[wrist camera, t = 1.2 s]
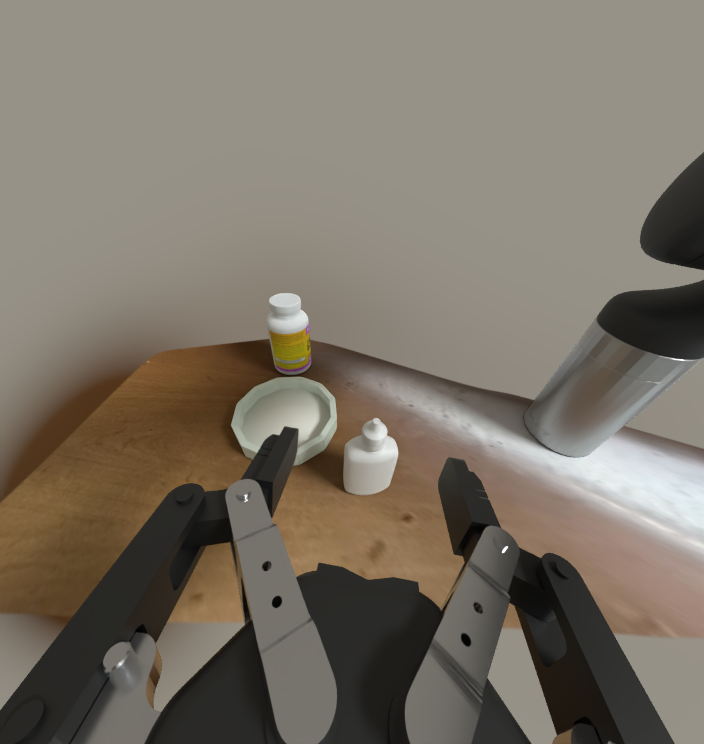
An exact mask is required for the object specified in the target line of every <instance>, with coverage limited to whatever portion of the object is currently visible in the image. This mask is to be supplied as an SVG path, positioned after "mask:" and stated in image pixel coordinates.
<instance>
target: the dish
mask: <svg viewBox="0 0 704 744" xmlns="http://www.w3.org/2000/svg"><path fill="white" fill-rule="evenodd" d="M284 426H287V427H292V428H298V429H299V434H298V447H297V454H296V459H295V462H294V464H293V465H300V464H302V463H304V462H305V461H307V460H309V459H310V458H312V457H314V456H315V455H317V454H319V453H320V452H322V451H324V450H325V448H326V447H327V445H328V443H329V441H330V440H331V438H332V436H333V435H334V433H335V431H336V429H337V415H336V405H335V398H334V397H333V396H332V394H331V393H330V392H329V391H328V390H327V389H326V388H325V387H324V386H323V385H322V384H321V383H318V382H315V381H312V380H309V379H306V378H304V377H281V378H275V379H273V380H270V381H268V382H265V383H263V384H260V385H258V386H255V387H254V388H253V389H251V390H250V391H249V392H248V393H247V394H246V395H245V396H244V397H243V398H242V399H241V400H240V401H239V402H238V403H237V405H236V408H235V412H234V416H233V419H232V423H231V427H232V429H233V431H234V434H235V436H236V438H237V440H238V442H239V444H240V446H241V448H242V450H243V452H244V454H245V456H246V457H248V458H250V459H252V460H253V459H254V457H255V455H256V454H257V452H258V450H259V449H260V447H261V445H262V444H263V442H264V440H265V439H266V438H268V437H269V436H270V435H272V434H275V435H280V433H281V431H282V430H283V428H284Z"/></svg>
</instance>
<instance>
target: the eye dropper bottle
mask: <svg viewBox="0 0 704 744" xmlns="http://www.w3.org/2000/svg"><path fill="white" fill-rule="evenodd" d="M397 458H398V448H397V445H396V442H395V440H394V439H393V438H391V437H389V436H387V428H386V426H385V425H384V424H383V423H382V422H380V420H379V419H378V418H374V419H373V420H372V421H368V422H366V423H365V424H364V425H363V428H362V435H360V436H358V437H355V438H353V439H352V440H350V441H349V442H347V444H346V445H345V450H344V468H343V481H344V488H345V490H346V491H347V492H349V493H352V494H356V495H371V494H375V493H378V492H380V491H382V490H384V489H386V488H387V487H388V486H389V485H390V482H391V479H392V475H393V472H394V469H395V465H396V462H397Z"/></svg>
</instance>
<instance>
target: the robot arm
mask: <svg viewBox="0 0 704 744" xmlns="http://www.w3.org/2000/svg"><path fill="white" fill-rule="evenodd" d="M640 243H641V248H642V249H643V251H644V252H645V253H646V254H647V255H649V256H651V257H652V258H654V259H656V260H659V261H662V262H665V263H670V264H676V265H681V266H685V267H690V268H695V269H701V270H704V152H703V153H702V154H701V155H700V156H699V157H698V158H697V159H696V160H695V161H693V162H692V163H691V164H690V165H689V166H688V167H687V168H686V169H685V170H684V171H683V172H682V173H681V174H680V175H679V176H678V177H677V178H676V179H675V180H674V182H673V183H672V184H671V185H670V186H669V187H668V188H667V190H666V191H665V192H664V193H663V194H662V195H661V197H660V198H659V199H658V201H657V202H656V203H655V205H654V206H653V208H652V209H651V211H650V212H649V214H648V216H647V218H646V220H645V222H644V224H643V227H642V230H641V236H640ZM703 359H704V280H702V281H700V282H696V283H693V284H689V285H685V286H680V287H674V288H668V289H659V290H642V291H629V292H624V293H621V294H618V295H616V296H614V297H613V298H612V299H611V300H610V301H609V302H608V303H607V304H606V305H605V306H604V308H603V309H602V311H601V312H600V313H599V315H598V316H597V317H596V318H595V320H594V321H593V322H592V324H591V325H590V326H589V328H588V330H586V332H585V333H584V335H583V336H582V337H581V339H580V340H579V342H578V343H577V344H576V345H575V347H574V348H573V349H572V351H571V352H570V354H569V355H568V356H567V357H566V359H565V360H564V362H563V363H562V364H561V366H560V367H559V368H558V370H557V371H556V372H555V373H554V375H553V376H552V377H551V379H550V380H549V381H548V383H547V384H546V386H545V387H544V388H543V390H542V391H541V392H540V394H539V395H538V396H537V398H536V399H535V400H534V402H533V403H532V404H531V406H530V407H529V408H528V410H527V411H526V412H525V415H524V421H525V424H526V427H527V428H528V430H529V431H530V433H531V434H532V435H533V436H534V437H535V438H536V439H537V440H538V441H539V442H541V443H542V444H543V445H545V446H546V447H548V448H550V449H552V450H553V451H555V452H558V453H560V454H563V455H567V456H571V457H584V456H587V455H589V454H590V453H592V452H593V451H594V450H595V449H596V448H598V447H599V446H600V445H601V444H602V443H604V442H605V441H606V440H607V439H608V438H610V437H611V436H612V435H613V434H615V433H616V432H617V431H618V430H619V429H621V428H622V427H623V426H624V425H625V424H627V423H628V422H629V421H630V420H631V419H633V418H634V417H635V416H636V415H637V414H638V413H640V412H641V411H642V410H643V409H644V408H646V407H647V406H648V405H649V404H650V403H652V402H653V401H654V400H655V399H656V398H658V397H659V396H660V395H661V394H662V393H663V392H665V391H666V390H667V389H668V388H670V387H671V386H672V385H673V384H674V383H676V382H677V381H678V380H679V379H680V378H681V377H682V376H684V375H685V374H686V373H687V372H688V371H690V370H691V369H692V368H693V367H694V366H696V365H697V364H698V363H699V362H700V361H702V360H703ZM298 434H299V429H298V428H292V427H287V426H284V428H283V430H282V431H281V433H280V435H275V434H272V435H270V436H269V437H268V438H266V439H265V440H264V442H263V444H262V445H261V447H260V449H259V450H258V452H257V454H256V455H255V457H254V459H253V460H252V462H251V464H250V465H249V467H248V469H247V470H246V472H245V474H244V475H243V477H242V479H241V480H239V481H237V482H235V483H233V484H232V485H231V486H230V487H229V488H228V489H224V490H218V491H208V492H204V489H203V488H202V486H200V485H198V484H194V483H190V484H184V485H181V486H179V487H177V488H175V489H174V490H172V491H171V492H170V493H169V494H168V495H167V496H166V497H165V499H164V500H163V501H162V503H161V504H160V505H159V506H158V508H157V509H156V510H155V512H154V513H153V514H152V515H151V517H150V518H149V519H148V521H147V522H146V523H145V525H144V526H143V527H142V528H141V530H140V531H139V532H138V534H137V535H136V536H135V537H134V539H133V540H132V541H131V543H130V544H129V545H128V546H127V548H126V549H125V550H124V552H123V553H122V554H121V555H120V557H119V558H118V559H117V561H116V562H115V563H114V564H113V566H112V567H111V568H110V570H109V571H108V572H107V574H106V575H105V576H104V577H103V579H102V580H101V581H100V583H99V584H98V585H97V586H96V588H95V589H94V590H93V592H92V593H91V594H90V595H89V597H88V598H87V599H86V601H85V602H84V603H83V604H82V606H81V607H80V608H79V610H78V611H77V612H76V613H75V615H74V616H73V617H72V619H71V620H70V621H69V623H68V624H67V625H66V626H65V628H64V629H63V630H62V632H61V633H60V634H59V635H58V637H57V638H56V639H55V641H54V642H53V643H52V644H51V646H50V647H49V648H48V650H47V651H46V652H45V654H44V655H43V656H42V658H41V659H40V660H39V661H38V663H37V664H36V665H35V666H34V668H33V669H32V670H31V672H30V673H29V674H28V675H27V677H26V678H25V679H24V681H23V682H22V683H21V684H20V686H19V687H18V688H17V690H16V691H15V692H14V693H13V695H12V696H11V698H10V699H9V700H8V701H7V703H6V704H5V705H4V706H3V708H2V709H1V710H0V744H531V742H530V741H529V740H528V738H527V737H526V735H525V734H524V732H523V731H522V729H521V728H520V726H519V725H518V723H517V722H516V720H515V719H514V717H513V716H512V714H511V713H510V711H509V710H508V708H507V707H506V705H505V704H504V702H503V701H502V700H501V698H500V696H499V695H498V693H497V692H496V690H495V689H494V687H493V686H492V684H491V683H490V681H489V680H488V678H487V676H488V673H489V669H490V666H491V663H492V659H493V656H494V653H495V649H496V646H497V643H498V639H499V636H500V632H501V629H502V626H503V622H504V619H505V615H506V612H507V609H508V605H509V603H511V604H513V605H514V606H515V608H516V611H517V614H518V617H519V620H520V623H521V626H522V630H523V633H524V636H525V639H526V641H527V645H528V648H529V651H530V654H531V657H532V660H533V663H534V666H535V669H536V672H537V675H538V678H539V681H540V684H541V687H542V691H543V693H544V697H545V700H546V703H547V706H548V709H549V712H550V715H551V718H552V721H553V724H554V727H555V730H556V733H557V736H556V737H555V738H554V740H553V744H674V742H673V740H672V738H671V736H670V735H669V733H668V731H667V729H666V728H665V726H664V724H663V722H662V720H661V719H660V717H659V715H658V713H657V712H656V710H655V708H654V706H653V704H652V702H651V701H650V699H649V697H648V695H647V694H646V692H645V690H644V688H643V686H642V685H641V683H640V681H639V679H638V677H637V676H636V674H635V672H634V670H633V669H632V667H631V665H630V663H629V662H628V660H627V658H626V656H625V654H624V652H623V651H622V649H621V647H620V645H619V644H618V642H617V640H616V638H615V636H614V635H613V633H612V631H611V629H610V627H609V626H608V624H607V622H606V620H605V618H604V617H603V615H602V613H601V611H600V610H599V608H598V606H597V604H596V602H595V601H594V599H593V597H592V595H591V593H590V592H589V590H588V588H587V586H586V584H585V583H584V581H583V579H582V577H581V576H580V574H579V573H578V571H577V570H576V569H575V568H574V567H573V566H572V565H571V564H570V563H569V562H568V561H567V560H565V559H564V558H562V557H560V556H558V555H556V554H553V553H546V554H544V555H543V556H542V558H539V557H537V556H535V555H533V554H531V553H529V552H527V551H525V550H523V549H521V548H519V547H518V545H517V543H516V541H515V540H514V538H513V537H512V536H511V535H510V534H509V533H507V532H506V531H505V530H503V529H501V527H500V524H499V522H498V520H497V517H496V515H495V513H494V510H493V508H492V506H491V503H490V501H489V500H488V496H487V494H486V492H485V489H484V487H483V485H482V482H481V480H480V479H479V478H478V477H477V476H476V475H475V473H474V472H470V471H469V470H468V468H467V465H466V463H465V461H464V460H461V459H456V458H450V457H449V458H448V459H447V460H446V463H445V465H444V468H443V470H442V472H441V475H440V477H439V481H438V490H439V494H440V498H441V502H442V507H443V511H444V515H445V519H446V523H447V528H448V532H449V536H450V540H451V544H452V549H453V553H454V555H459V556H463V558H464V562H465V563H464V564H463V566H462V568H461V570H460V572H459V574H458V576H457V578H456V580H455V582H454V584H453V586H452V588H451V590H450V592H449V594H448V596H447V598H446V600H445V602H444V604H443V605H442V607H441V609H440V608H439V607H438V606H437V605H436V604H435V603H434V602H433V601H432V600H430V599H429V598H428V597H427V596H425V595H424V594H422V593H420V592H419V587H418V582H415V581H410V580H405V579H400V578H395V577H392V578H383V579H374V580H367V579H365V578H363V577H361V576H359V575H357V574H355V573H353V572H351V571H349V570H347V569H345V568H343V567H339V566H334V565H329V564H323V563H318V568H317V571H311V572H307V573H304V574H302V575H299V576H298V577H296V576H295V573H294V571H293V568H292V565H291V562H290V559H289V557H288V554H287V551H286V548H285V545H284V542H283V540H282V537H281V534H280V531H279V529H278V527H277V525H276V524H275V525H274V524H273V522H272V519H271V518H272V517H273V515H274V512H275V510H276V507H277V505H278V502H279V500H280V497H281V495H282V492H283V490H284V487H285V484H286V482H287V479H288V477H289V474H290V472H291V469H292V467H293V464H294V462H295V459H296V454H297V447H298ZM227 542H230V546H231V551H232V556H233V561H234V566H235V572H236V577H237V582H238V588H239V595H240V602H241V607H242V612H243V618H244V623H245V626H243V627H242V628H241V629H240V631H238V632H237V633H236V634H235V636H233V637H232V638H231V639H230V640H229V641H228V642H227V643H226V644H225V645H224V646H223V647H222V648H221V649H220V650H219V651H218V652H217V653H216V654H215V655H214V656H213V657H212V658H211V659H210V660H209V661H208V662H207V663H206V664H205V665H204V666H203V667H202V668H201V669H200V670H199V671H198V672H197V673H196V674H195V675H194V676H193V677H192V678H191V679H190V680H189V681H188V682H187V683H186V684H185V685H184V686H183V687H182V688H181V689H180V690H179V691H178V692H177V693H176V694H175V695H174V696H173V697H172V699H171V700H170V701H169V702H168V704H167V705H166V706H165V708H164V709H163V711H162V712H159V711H156V710H154V704H153V703H154V694H155V690H156V687H157V684H158V681H159V679H160V675H161V671H162V659H161V656H160V654H159V651H158V649H157V646H156V642H157V640H158V638H159V636H160V634H161V632H162V630H163V628H164V626H165V625H166V623H167V621H168V619H169V617H170V615H171V613H172V611H173V609H174V607H175V605H176V603H177V601H178V599H179V597H180V596H181V594H182V592H183V590H184V588H185V586H186V584H187V582H188V580H189V578H190V576H191V574H192V572H193V570H194V568H195V567H196V565H197V563H198V561H199V559H200V557H201V555H202V553H203V551H204V549H205V547H206V546H207V545H213V544H220V543H227Z"/></svg>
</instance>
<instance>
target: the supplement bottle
mask: <svg viewBox="0 0 704 744" xmlns="http://www.w3.org/2000/svg"><path fill="white" fill-rule="evenodd" d="M269 304H270V309H271V311H272V312H271V313H270V314H269V315H268V317H267V320H266V323H267V329H268V334H269V339H270V344H271V349H272V355H273V360H274V365H275V367H276V369H277V370H278V371H279V372H281V373H283V374H286V375H297V374H300V373H303V372H305V371H306V370H307V369H308V368H309V367H310V365H311V348H310V335H309V323H308V317H307V315H306V313H305V312H303V311H302V310H300V308H301V300H300V297H299V296H297V295H295V294H291V293H281V294H277V295H274V296H272V297H271V298H270V299H269Z"/></svg>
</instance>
